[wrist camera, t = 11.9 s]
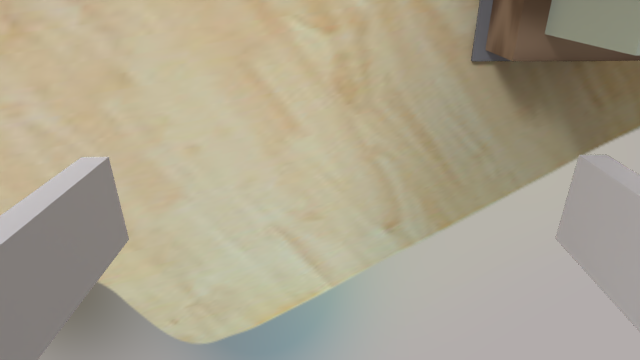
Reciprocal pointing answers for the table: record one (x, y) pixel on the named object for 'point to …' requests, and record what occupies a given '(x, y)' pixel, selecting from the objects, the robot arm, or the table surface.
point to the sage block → (597, 23)
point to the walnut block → (537, 36)
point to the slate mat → (483, 34)
